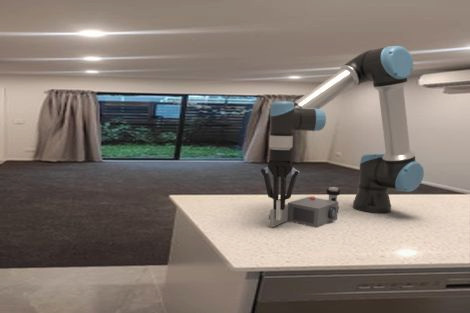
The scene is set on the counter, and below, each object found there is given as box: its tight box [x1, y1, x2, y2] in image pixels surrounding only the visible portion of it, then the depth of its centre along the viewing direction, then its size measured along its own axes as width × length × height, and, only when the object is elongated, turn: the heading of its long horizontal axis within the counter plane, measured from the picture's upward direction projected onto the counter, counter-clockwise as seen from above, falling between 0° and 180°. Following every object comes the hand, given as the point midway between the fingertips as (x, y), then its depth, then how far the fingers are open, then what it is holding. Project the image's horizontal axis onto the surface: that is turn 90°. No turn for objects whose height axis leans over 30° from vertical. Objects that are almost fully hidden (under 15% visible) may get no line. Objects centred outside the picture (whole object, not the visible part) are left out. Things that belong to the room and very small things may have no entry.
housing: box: [286, 195, 339, 228], centre depth 145 cm, size 16×13×7 cm
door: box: [268, 203, 288, 228], centre depth 138 cm, size 2×12×6 cm, turn 146°
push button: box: [326, 186, 341, 212], centre depth 157 cm, size 7×5×10 cm
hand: (278, 219), depth 134 cm, fingers closed
